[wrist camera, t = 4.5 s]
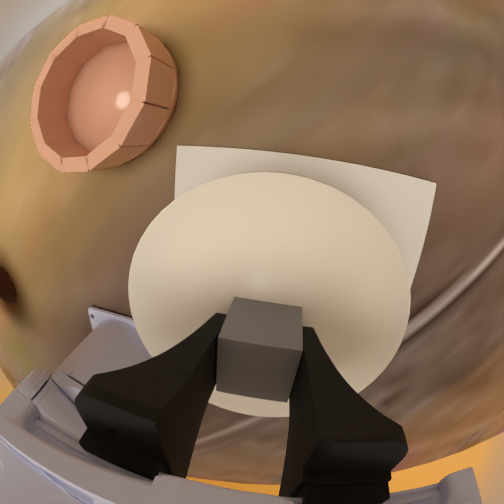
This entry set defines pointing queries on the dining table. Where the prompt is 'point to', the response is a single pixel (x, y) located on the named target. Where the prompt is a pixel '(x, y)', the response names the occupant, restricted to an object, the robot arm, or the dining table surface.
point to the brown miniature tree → (6, 287)
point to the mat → (332, 173)
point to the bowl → (103, 96)
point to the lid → (271, 283)
